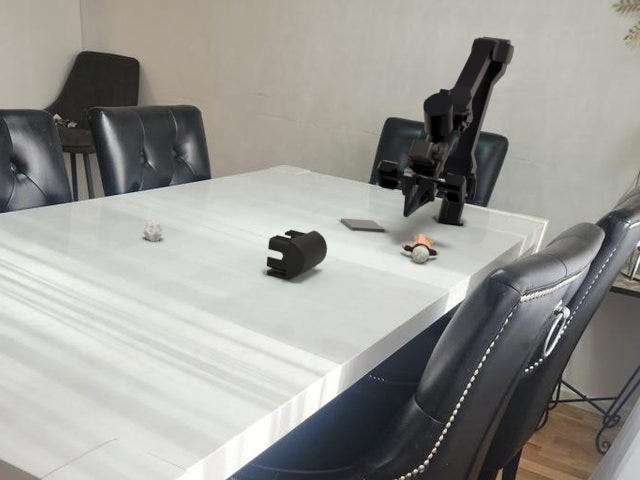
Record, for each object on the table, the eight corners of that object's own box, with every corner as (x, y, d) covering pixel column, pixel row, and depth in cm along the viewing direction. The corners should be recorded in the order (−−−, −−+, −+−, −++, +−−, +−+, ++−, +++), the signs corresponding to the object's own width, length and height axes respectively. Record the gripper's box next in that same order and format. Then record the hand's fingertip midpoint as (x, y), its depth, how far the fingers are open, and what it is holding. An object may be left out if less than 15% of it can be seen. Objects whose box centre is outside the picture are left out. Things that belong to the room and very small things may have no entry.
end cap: (300, 285, 110) (306, 244, 106) (264, 275, 112) (268, 235, 108) (324, 272, 117) (330, 234, 114) (289, 263, 120) (294, 225, 116)
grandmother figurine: (439, 233, 137) (441, 244, 126) (437, 252, 139) (439, 265, 128) (402, 233, 138) (401, 244, 127) (401, 251, 140) (400, 264, 129)
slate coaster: (340, 220, 153) (341, 218, 153) (372, 222, 155) (372, 220, 155) (351, 230, 147) (352, 227, 146) (384, 231, 149) (384, 229, 148)
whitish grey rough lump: (139, 238, 122) (139, 221, 120) (155, 236, 124) (155, 219, 123) (151, 243, 120) (151, 226, 119) (166, 240, 123) (167, 224, 121)
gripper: (389, 116, 132) (358, 180, 130) (478, 132, 126) (447, 199, 124) (394, 155, 142) (366, 215, 140) (476, 172, 136) (448, 235, 134)
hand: (405, 215), depth 134 cm, fingers closed
